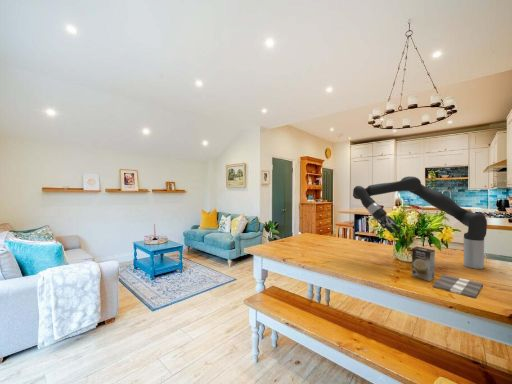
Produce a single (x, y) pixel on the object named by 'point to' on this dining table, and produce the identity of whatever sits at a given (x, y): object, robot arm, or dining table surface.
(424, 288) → the dining table surface
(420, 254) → the coffee box
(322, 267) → the dining table surface
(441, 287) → the grey white flat rectangle
